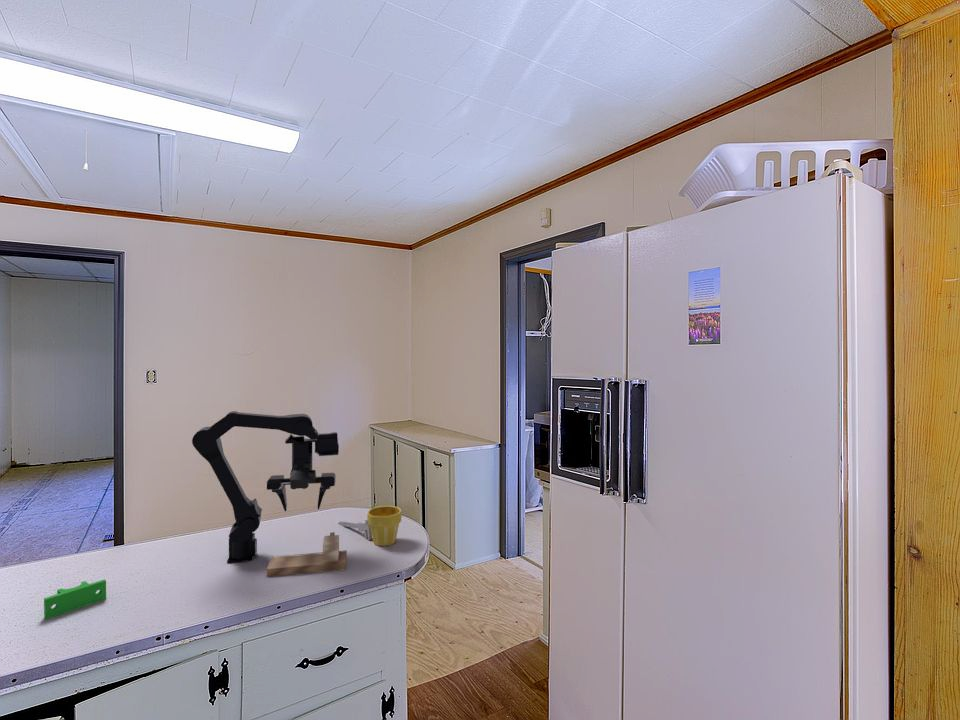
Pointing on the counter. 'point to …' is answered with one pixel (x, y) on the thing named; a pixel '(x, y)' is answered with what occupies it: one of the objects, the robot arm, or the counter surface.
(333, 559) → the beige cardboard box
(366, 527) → the caliper
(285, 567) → the walnut board
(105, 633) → the counter surface
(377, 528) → the plant pot
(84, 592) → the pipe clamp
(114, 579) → the counter surface
